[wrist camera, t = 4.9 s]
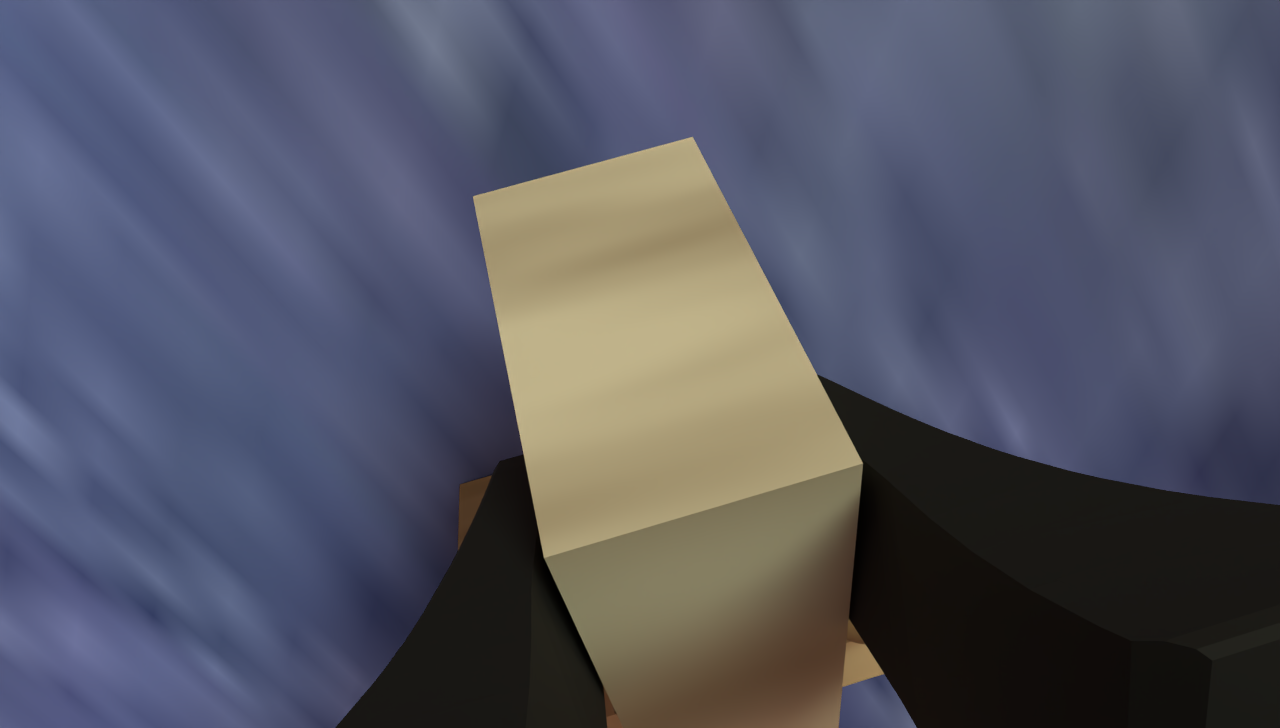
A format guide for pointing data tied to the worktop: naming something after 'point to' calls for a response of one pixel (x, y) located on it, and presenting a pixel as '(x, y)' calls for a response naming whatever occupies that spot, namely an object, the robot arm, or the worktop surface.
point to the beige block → (674, 445)
